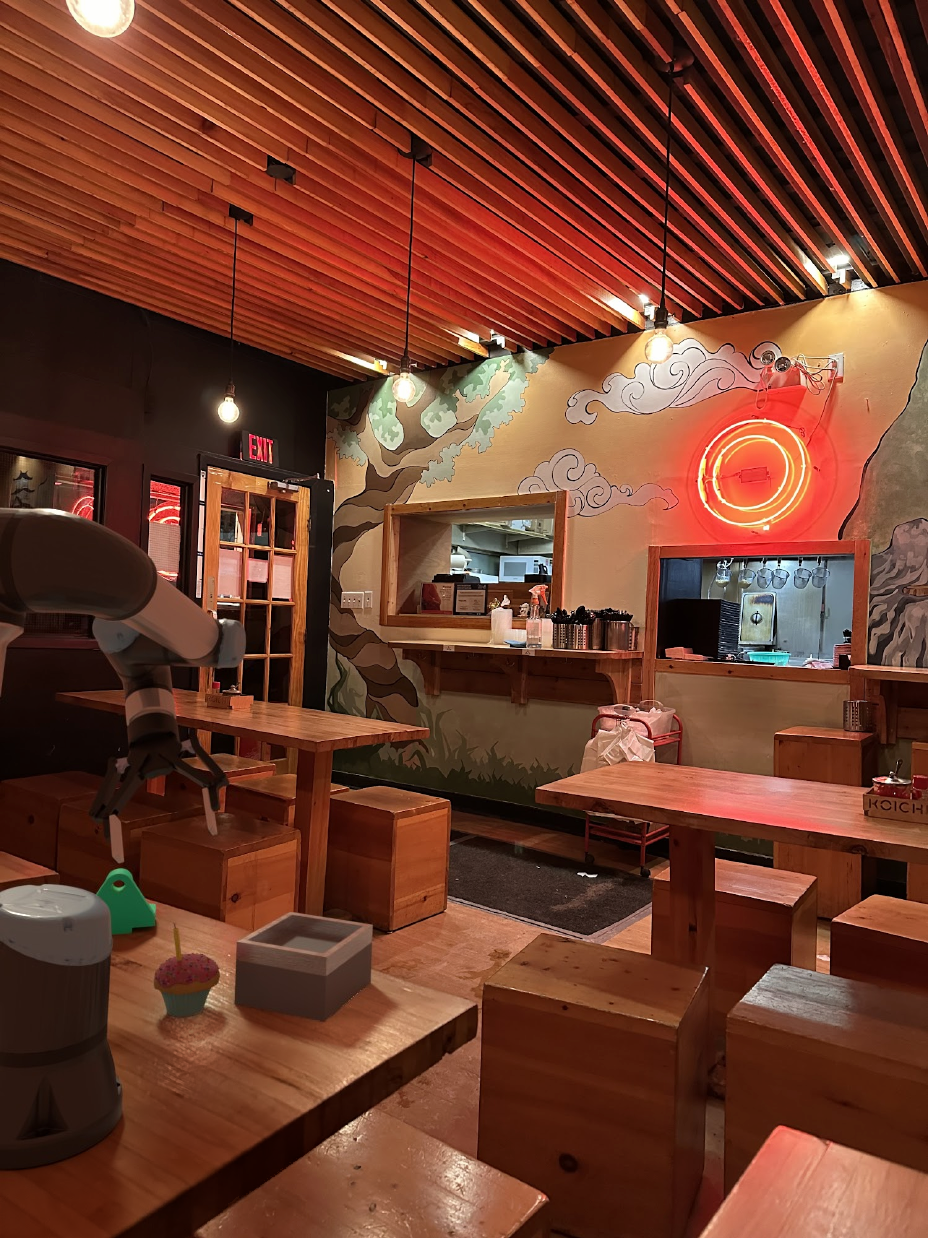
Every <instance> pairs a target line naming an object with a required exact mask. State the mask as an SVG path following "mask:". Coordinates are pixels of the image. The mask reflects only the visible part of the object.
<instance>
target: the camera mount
mask: <svg viewBox="0 0 928 1238" xmlns="http://www.w3.org/2000/svg"><path fill="white" fill-rule="evenodd" d="M117 881H122V882H123V883H124V885H123V886H120V887H117V886H115V885H114V883H115V882H117ZM96 895H97V896H99V897H100V898H101V899H102V900H103V901H104V902H105V903H106V905H107V906H108V908H109V910H110V914H111V935H123V934H124V935H126V934H132V933H133V932H132V931H133V929H134V928H147V927H155V926H156V911H157V909H156V908H157V906H156V905H157V904H155V903H149V902H148V901H147V899H146V897H145V896H144V895H143V893H142V891H141V890H140V887H138V886H137V883H136V882H135V881H134V877H133V874H132V873H131V872H130V871H129V870H128V869H126V868H122V867H121V868H117V869H113V870H111V871H110V872H109V873H108V875H107V876H106V878H105V881H104V882H103V884H102V885H101V886H100V888H99V889H98V890H97V892H96Z"/></svg>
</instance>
